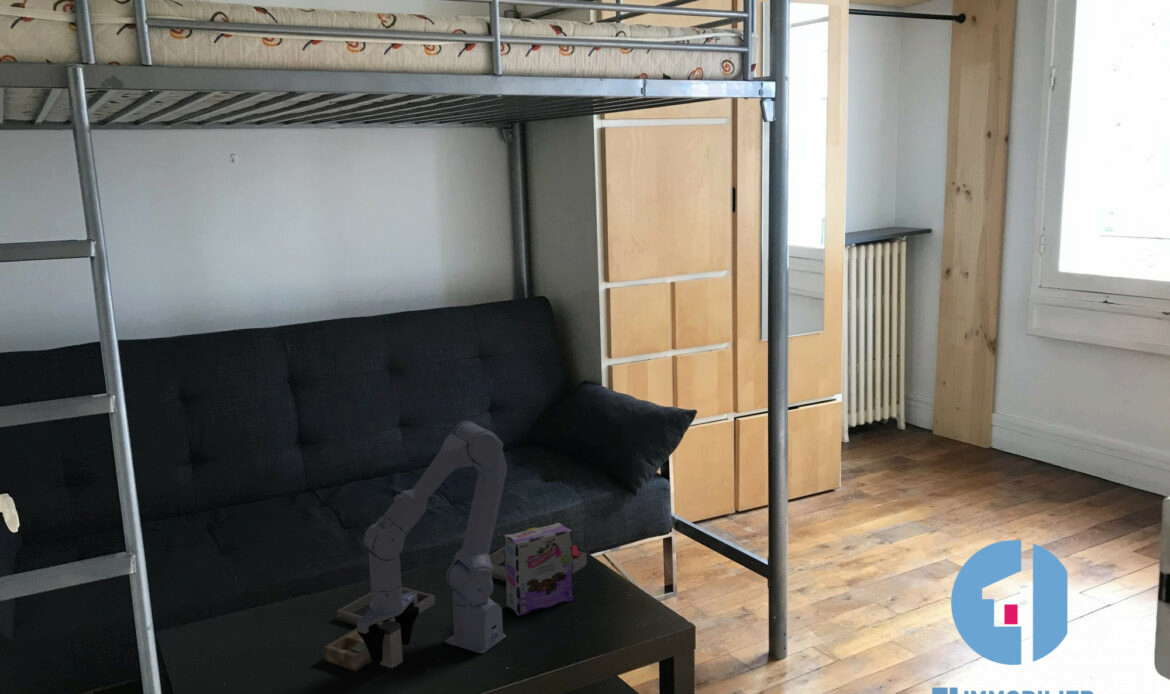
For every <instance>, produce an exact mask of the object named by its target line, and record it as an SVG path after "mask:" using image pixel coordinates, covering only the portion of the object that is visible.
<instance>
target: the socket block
mask: <svg viewBox="0 0 1170 694" xmlns="http://www.w3.org/2000/svg"><path fill="white" fill-rule="evenodd" d="M383 623H384V621H382V622H380V623H378V624H377V627H378V626H379V625H381V624H383ZM323 649H324V658H325V659H324V660H325V662H327V661H329V662H328V663H330V662H332V663H331V664H333V663H335V664H337V665H336V666H338V665H340V666H339V667H341V666H342V667H341V668H344V667H345V669H348V670H350V671H353V670H354V672H358V671H359V670H361V669H362V668H363V667H365V666H367V665H368V664H370V663H371V662H373V661H372V659H371V656H370V654H369V651H368V648H367V646H366V644H365V642H364V641H363V639H362V638H361V636H360V635H359V634H358V632H357V627H356V628H355V629H352V630H350V631H349V632H347V633H346V634H343V636H340V637H339V638H336V639H335V640H333V641H332V642H330V643H328V644H327V645H324V647H323ZM369 662H370V663H369ZM335 664H334V665H335ZM366 664H367V665H366ZM364 665H365V666H364ZM361 667H362V668H361ZM358 669H359V670H358Z"/></svg>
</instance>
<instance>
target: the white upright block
mask: <svg viewBox="0 0 1170 694" xmlns="http://www.w3.org/2000/svg"><path fill="white" fill-rule="evenodd" d="M378 627H379V629H381V630H384V631H386V632H385V635H384V639H383V658H382V662H380V663H379V666H381V665H384V666H386V667H385V668H387V667H389V668H388V669H390V668H393V667H395V666H396V667H397V665H398V664H399V665H400V663H401V664H402V663H403V662H404V661H403V660H404V659H403V644H402V643H401V628H400V623H397V622H393V621H390V620H388V621H386V622H384V621H383V624H381V625H379V626H378ZM399 665H398V666H399ZM384 666H383V667H384ZM396 667H395V668H396ZM393 669H394V668H393Z"/></svg>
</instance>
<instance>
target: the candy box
mask: <svg viewBox="0 0 1170 694" xmlns="http://www.w3.org/2000/svg"><path fill="white" fill-rule="evenodd" d="M535 528H536V529H532V530H527V529H526V530H527V531H526V530H523V531H519V532H515V533H511V534H504V537H503V538H504V546H505V561H504V562H505V563H504V565H505V566H504V567H505V570H506V571H505V572H506V581H505V591H506V592H505V597H506V598H505V599H506V601H505V602H506V606H507V607H508V608H509V609H510V610H511V611H512V612H513V613H514V614H515V615H517V616H523V615H526V614H530V613H532V612H537V611H540V610H543V609H548V608H550V607H551V608H552V607H554V606H558V605H562V604H566V603H569V602H572V601H574V599H575V598H574V595H575V594H574V574H573V562H572V545H573V536H572V535H573V534H572V533H573V531H572V529H570V528H568V527H566V526H565V525H564V524H562V523H560V522H556V523H553V524H550V525H547V526H542V527H535Z"/></svg>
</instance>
